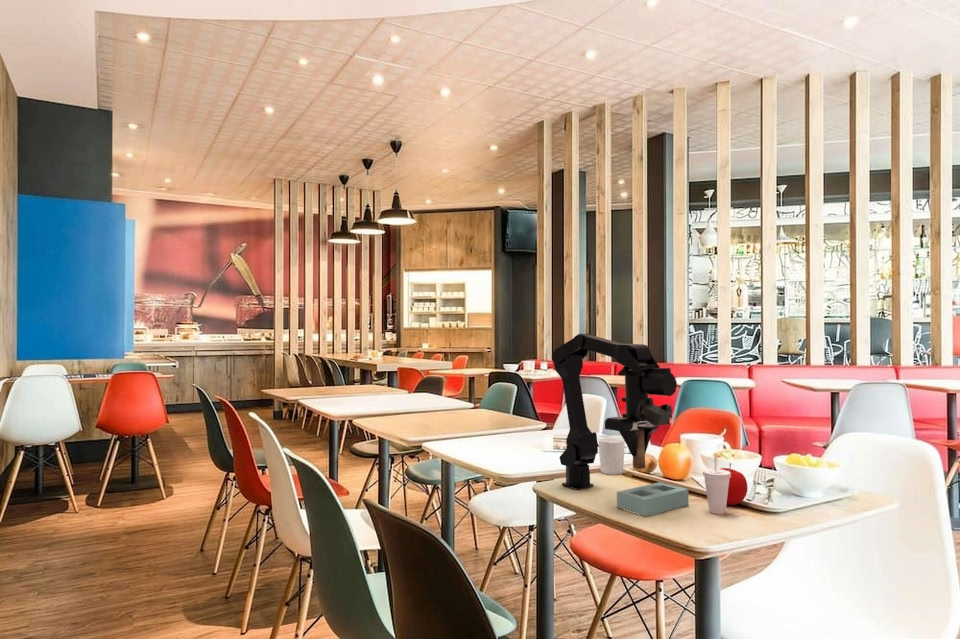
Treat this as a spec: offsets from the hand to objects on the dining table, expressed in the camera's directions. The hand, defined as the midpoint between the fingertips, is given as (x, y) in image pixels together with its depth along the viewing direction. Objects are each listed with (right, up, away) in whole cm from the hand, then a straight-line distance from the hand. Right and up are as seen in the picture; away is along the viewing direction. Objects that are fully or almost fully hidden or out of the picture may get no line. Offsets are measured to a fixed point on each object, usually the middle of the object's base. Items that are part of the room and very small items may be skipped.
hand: (638, 455), depth 158 cm
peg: (0, -3, 0) cm, 3 cm away
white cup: (0, -13, +34) cm, 37 cm away
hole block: (+3, -12, -3) cm, 13 cm away
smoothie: (+17, -12, -8) cm, 22 cm away
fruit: (+23, -12, 0) cm, 26 cm away
